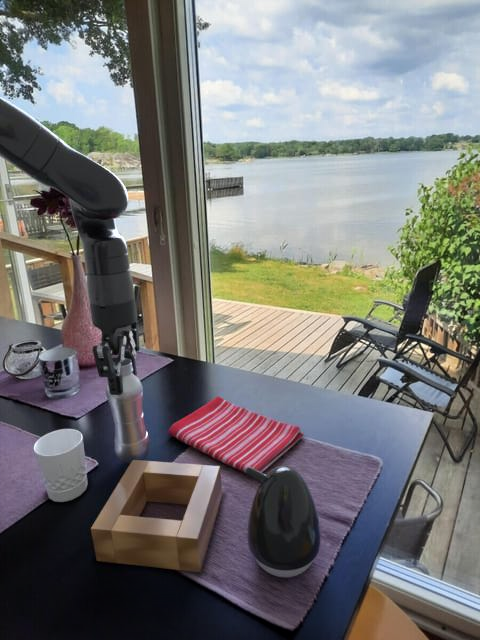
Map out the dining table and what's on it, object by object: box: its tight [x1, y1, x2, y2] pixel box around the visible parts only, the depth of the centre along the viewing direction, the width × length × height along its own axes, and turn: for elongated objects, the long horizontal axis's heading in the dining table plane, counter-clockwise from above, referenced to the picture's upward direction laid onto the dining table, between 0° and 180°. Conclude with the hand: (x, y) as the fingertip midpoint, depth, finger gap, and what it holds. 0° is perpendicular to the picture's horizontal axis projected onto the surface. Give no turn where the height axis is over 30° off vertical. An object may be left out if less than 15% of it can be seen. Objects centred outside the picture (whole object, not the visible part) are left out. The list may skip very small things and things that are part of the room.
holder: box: [90, 459, 223, 573], centre depth 69 cm, size 16×16×6 cm
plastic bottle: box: [105, 358, 151, 464], centre depth 82 cm, size 6×7×20 cm
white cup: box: [33, 428, 89, 503], centre depth 77 cm, size 8×8×10 cm
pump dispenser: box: [245, 465, 322, 578], centre depth 61 cm, size 10×10×15 cm
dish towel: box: [168, 395, 304, 474], centre depth 92 cm, size 17×24×3 cm
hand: (124, 385), depth 80 cm, fingers closed on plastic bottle, 6 cm apart
